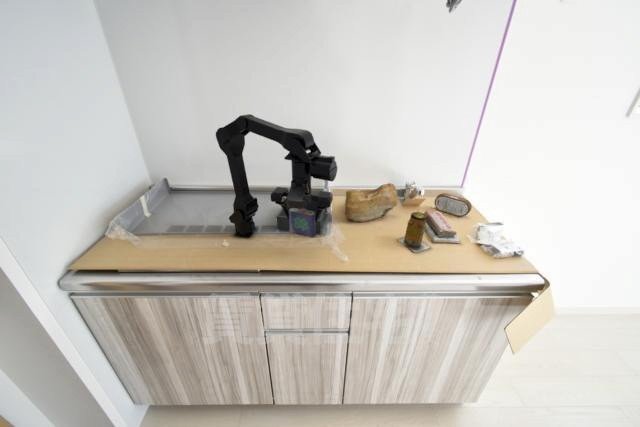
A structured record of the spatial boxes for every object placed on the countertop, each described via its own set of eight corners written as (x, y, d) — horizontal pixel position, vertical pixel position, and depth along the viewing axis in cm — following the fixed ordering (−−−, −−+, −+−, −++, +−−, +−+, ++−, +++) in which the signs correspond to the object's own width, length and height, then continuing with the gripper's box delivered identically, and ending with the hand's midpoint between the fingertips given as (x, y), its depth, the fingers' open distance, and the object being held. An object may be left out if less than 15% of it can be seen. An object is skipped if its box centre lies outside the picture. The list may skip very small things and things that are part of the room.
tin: (468, 217, 108) (474, 200, 104) (466, 219, 106) (472, 202, 101) (433, 206, 116) (438, 190, 112) (431, 209, 114) (436, 192, 110)
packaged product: (420, 209, 103) (443, 209, 103) (417, 218, 106) (440, 219, 105) (436, 232, 88) (464, 233, 87) (433, 243, 90) (460, 244, 90)
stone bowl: (382, 205, 118) (384, 175, 112) (399, 219, 104) (403, 186, 97) (336, 210, 114) (336, 180, 108) (347, 226, 100) (348, 192, 93)
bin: (277, 228, 97) (276, 216, 94) (290, 208, 112) (289, 197, 109) (320, 234, 94) (320, 221, 91) (327, 212, 109) (327, 201, 106)
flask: (288, 233, 82) (286, 205, 76) (292, 228, 84) (290, 201, 78) (314, 238, 79) (314, 211, 74) (317, 233, 81) (317, 206, 76)
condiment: (412, 236, 94) (419, 208, 88) (429, 248, 87) (438, 219, 81) (398, 240, 91) (404, 212, 85) (414, 253, 84) (422, 224, 78)
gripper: (261, 182, 66) (266, 229, 74) (327, 188, 63) (325, 237, 71) (275, 169, 76) (278, 212, 83) (334, 174, 73) (331, 218, 80)
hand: (302, 220), depth 79 cm, fingers closed on flask, 9 cm apart
